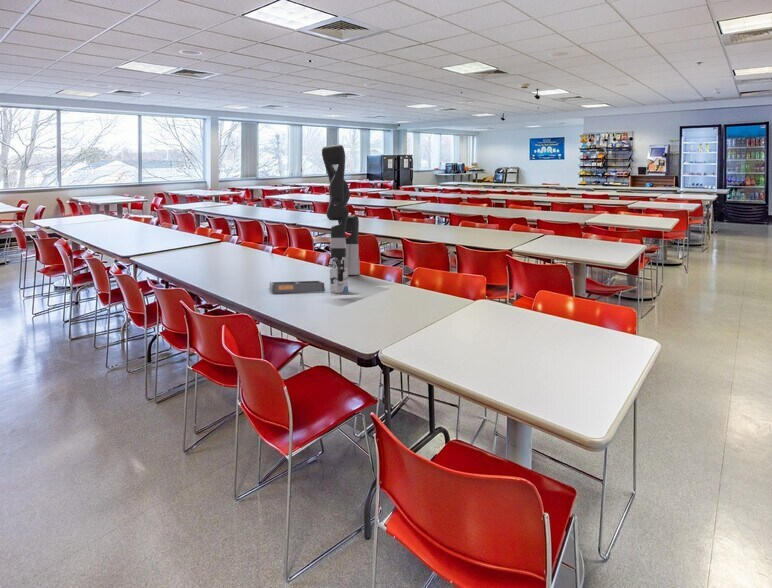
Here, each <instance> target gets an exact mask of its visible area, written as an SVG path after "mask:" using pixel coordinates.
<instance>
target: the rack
mask: <svg viewBox="0 0 772 588" xmlns="http://www.w3.org/2000/svg"><path fill="white" fill-rule="evenodd" d="M270 289H271V290H270ZM269 290H270V291H271V294H272V295H274V294H276V295H277V294H294V293H300V292H303V293H309V292H312V291H317V292H321V291H325V282H323V281H321V280H303V281H301V280H300V281H270V282H269Z"/></svg>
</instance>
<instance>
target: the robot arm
mask: <svg viewBox="0 0 772 588" xmlns="http://www.w3.org/2000/svg"><path fill="white" fill-rule="evenodd" d="M321 157H322V161H323V163H324V168H325V170H326V173H327V176H328V180H329V181H328V182H329V187H328V190H329V200H328V201H329V203H328V206H327V208H326V209H327V210H326V218H327V219H328V220H329V221H337V222H338V224H336V225H332V226H331V227H330V242H329V245H330V248H329V249H330V258H332V268H336V269H338V281H343V273H344V272H345V270H344V268H348V276H353V275H354V276H357V275H361V274H360V273H361V271H360V267H361V266H360V264H361V263H360V256H359V230H360V229H359V226H360V221H359V216H358V215H356V214H355V215H354V214H349V213H350V212H349V211H350V210H349V208H348V206H347V204H348V203H349V200H350V197H351V193H350V188H349V184H348V182H347V181H346V180H345V168H346V152H345V149H344V145H341V144H333V145H328V146H327V145H326V146H323V147H322V149H321ZM335 165H337V169H335V167H334V166H335ZM350 232H351V233H350ZM346 233H350V235H348V236H347V237H346Z"/></svg>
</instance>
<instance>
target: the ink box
mask: <svg viewBox="0 0 772 588" xmlns="http://www.w3.org/2000/svg"><path fill="white" fill-rule="evenodd" d="M344 270H345V272H344V273H343V281H338V269H336V268H333V267H332V268H329V291H330V292H329V293H331V292H332V294H339V293H345V292H344V291H346V292H348V291H349V275H348V268H344Z"/></svg>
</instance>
